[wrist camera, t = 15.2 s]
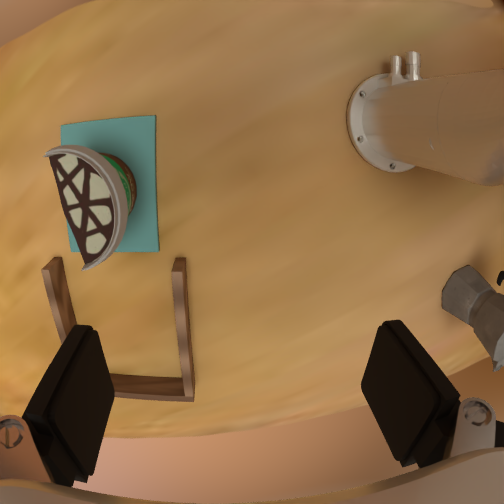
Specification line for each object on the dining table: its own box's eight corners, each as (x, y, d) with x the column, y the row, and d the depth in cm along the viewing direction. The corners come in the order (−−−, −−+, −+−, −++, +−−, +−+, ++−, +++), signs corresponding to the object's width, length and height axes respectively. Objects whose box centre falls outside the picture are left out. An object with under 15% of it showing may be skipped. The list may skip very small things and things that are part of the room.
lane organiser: (54, 257, 37) (41, 269, 33) (185, 257, 38) (182, 271, 35) (87, 376, 44) (80, 392, 41) (195, 383, 46) (194, 401, 42)
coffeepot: (464, 320, 48) (522, 378, 31) (429, 324, 47) (488, 392, 30) (491, 242, 42) (565, 288, 26) (456, 238, 41) (538, 291, 25)
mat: (63, 125, 31) (60, 125, 30) (156, 115, 32) (155, 115, 31) (73, 250, 36) (71, 252, 36) (159, 250, 38) (158, 252, 37)
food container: (160, 227, 36) (140, 260, 27) (114, 240, 36) (83, 276, 27) (131, 125, 31) (98, 124, 22) (84, 143, 31) (41, 150, 22)
